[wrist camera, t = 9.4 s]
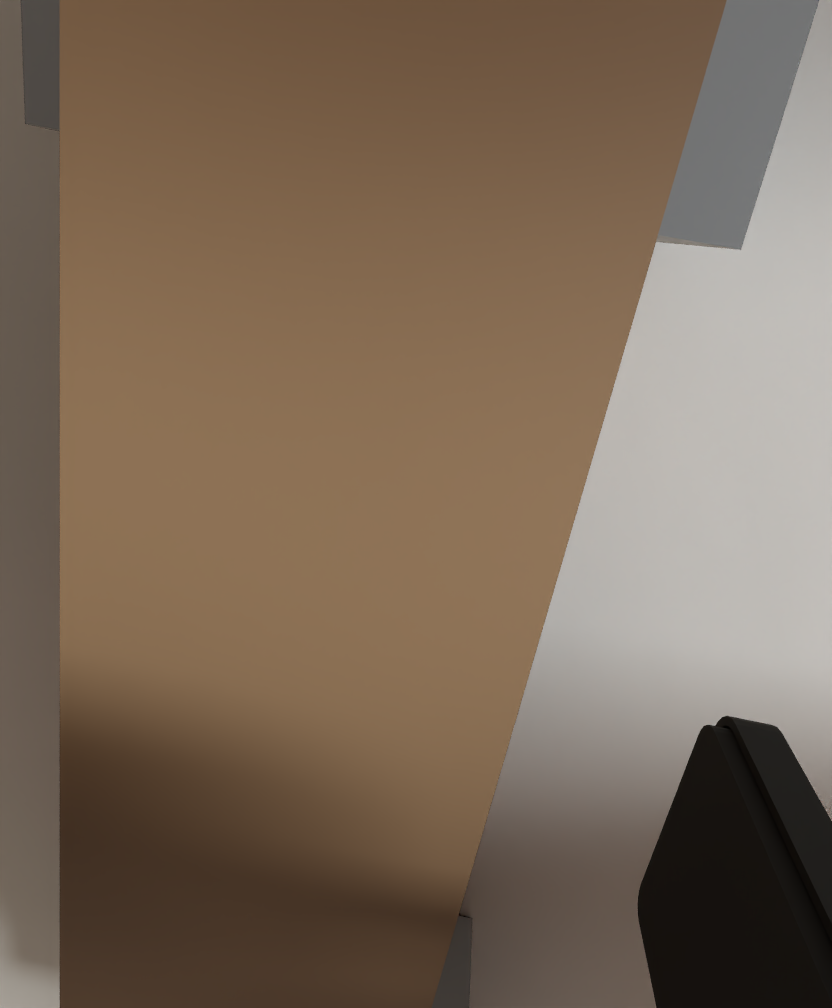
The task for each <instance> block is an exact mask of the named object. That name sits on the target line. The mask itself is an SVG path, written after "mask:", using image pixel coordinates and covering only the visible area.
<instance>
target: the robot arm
mask: <svg viewBox="0 0 832 1008" xmlns="http://www.w3.org/2000/svg"><path fill="white" fill-rule="evenodd" d="M638 918H639V924H640V929H641V934H642V939H643V944H644V948H645V953H646V958H647V963H648V968H649V973H650V978H651V983H652V987H653V992H654V997H655V1002H656V1007H657V1008H832V821H831V819H830V818H829V816H828V814H827V812H826V811H825V809H824V807H823V805H822V803H821V802H820V800H819V798H818V796H817V795H816V793H815V791H814V789H813V787H812V786H811V784H810V782H809V780H808V779H807V777H806V775H805V773H804V771H803V770H802V768H801V766H800V764H799V763H798V761H797V759H796V757H795V755H794V754H793V752H792V750H791V748H790V747H789V745H788V743H787V741H786V740H785V738H784V736H783V734H782V733H781V731H780V730H779V729H778V728H777V727H775V726H773V725H769V724H764V723H759V722H754V721H749V720H744V719H739V718H734V717H729V716H725V717H722V718H721V719H720V720H719V721H718V722H717V724H716V726H711V725H706V726H704V727H703V728H702V729H701V731H700V733H699V735H698V738H697V740H696V743H695V745H694V748H693V751H692V753H691V756H690V758H689V761H688V764H687V766H686V769H685V771H684V774H683V777H682V779H681V782H680V784H679V787H678V790H677V792H676V795H675V797H674V800H673V803H672V805H671V808H670V810H669V813H668V816H667V818H666V821H665V823H664V826H663V829H662V831H661V834H660V836H659V839H658V842H657V844H656V847H655V849H654V852H653V854H652V857H651V860H650V862H649V865H648V867H647V870H646V873H645V875H644V878H643V880H642V883H641V886H640V890H639V896H638Z"/></svg>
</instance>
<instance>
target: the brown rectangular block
mask: <svg viewBox="0 0 832 1008" xmlns="http://www.w3.org/2000/svg"><path fill="white" fill-rule="evenodd" d="M726 1H727V0H60V1008H432V1004H433V1001H434V997H435V994H436V990H437V987H438V984H439V980H440V977H441V973H442V970H443V967H444V963H445V960H446V956H447V953H448V950H449V946H450V943H451V939H452V936H453V932H454V929H455V926H456V922H457V919H458V915H459V912H460V909H461V905H462V902H463V898H464V895H465V892H466V888H467V885H468V881H469V878H470V874H471V871H472V868H473V864H474V861H475V857H476V854H477V851H478V847H479V844H480V840H481V837H482V834H483V830H484V827H485V823H486V820H487V816H488V813H489V810H490V806H491V803H492V799H493V796H494V793H495V789H496V786H497V782H498V779H499V776H500V772H501V769H502V765H503V762H504V758H505V755H506V752H507V748H508V745H509V741H510V738H511V735H512V731H513V728H514V724H515V721H516V718H517V714H518V711H519V707H520V704H521V700H522V697H523V694H524V690H525V687H526V683H527V680H528V677H529V673H530V670H531V666H532V663H533V660H534V656H535V653H536V649H537V646H538V642H539V639H540V636H541V632H542V629H543V625H544V622H545V619H546V615H547V612H548V608H549V605H550V602H551V598H552V595H553V591H554V588H555V584H556V581H557V578H558V574H559V571H560V567H561V564H562V561H563V557H564V554H565V550H566V547H567V544H568V540H569V537H570V533H571V530H572V526H573V523H574V520H575V516H576V513H577V509H578V506H579V503H580V499H581V496H582V492H583V489H584V486H585V482H586V479H587V475H588V472H589V468H590V465H591V462H592V458H593V455H594V451H595V448H596V445H597V441H598V438H599V434H600V431H601V428H602V424H603V421H604V417H605V414H606V410H607V407H608V404H609V400H610V397H611V393H612V390H613V387H614V383H615V380H616V376H617V373H618V370H619V366H620V363H621V359H622V356H623V352H624V349H625V346H626V342H627V339H628V335H629V332H630V329H631V325H632V322H633V318H634V315H635V312H636V308H637V305H638V301H639V298H640V295H641V291H642V288H643V284H644V281H645V277H646V274H647V271H648V267H649V264H650V260H651V257H652V254H653V250H654V247H655V243H656V240H657V237H658V233H659V230H660V226H661V223H662V219H663V216H664V213H665V209H666V206H667V202H668V199H669V196H670V192H671V189H672V185H673V182H674V179H675V175H676V172H677V168H678V165H679V161H680V158H681V155H682V151H683V148H684V144H685V141H686V138H687V134H688V131H689V127H690V124H691V121H692V117H693V114H694V110H695V107H696V103H697V100H698V97H699V93H700V90H701V86H702V83H703V80H704V76H705V73H706V69H707V66H708V63H709V59H710V56H711V52H712V49H713V45H714V42H715V39H716V35H717V32H718V28H719V25H720V22H721V18H722V15H723V11H724V8H725V5H726Z"/></svg>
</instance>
